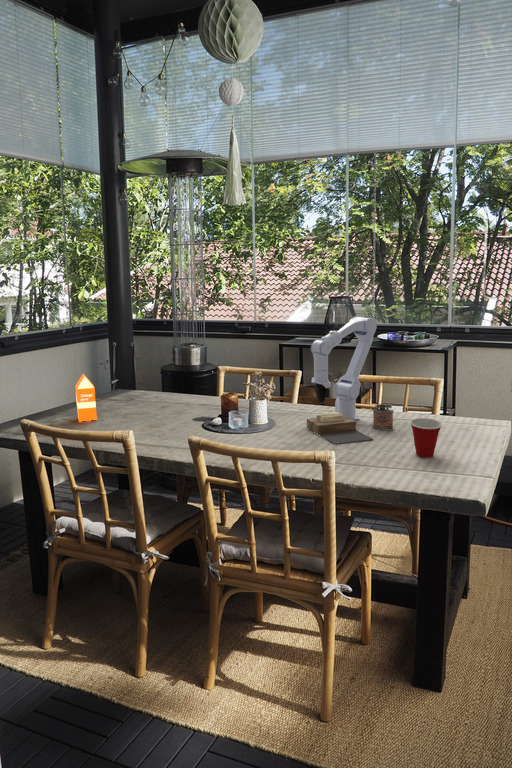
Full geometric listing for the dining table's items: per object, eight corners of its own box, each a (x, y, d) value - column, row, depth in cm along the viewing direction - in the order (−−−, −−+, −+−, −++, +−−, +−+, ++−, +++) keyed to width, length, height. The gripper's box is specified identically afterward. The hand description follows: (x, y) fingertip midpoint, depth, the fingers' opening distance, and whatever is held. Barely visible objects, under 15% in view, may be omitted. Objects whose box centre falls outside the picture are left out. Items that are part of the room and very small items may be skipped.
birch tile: (316, 419, 268) (316, 414, 268) (336, 416, 271) (336, 412, 271) (322, 422, 263) (322, 417, 262) (343, 420, 266) (343, 415, 265)
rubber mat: (319, 435, 259) (319, 434, 259) (356, 431, 264) (356, 430, 264) (334, 444, 246) (334, 443, 246) (373, 440, 251) (373, 438, 251)
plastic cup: (422, 461, 224) (423, 427, 221) (402, 453, 233) (403, 420, 231) (448, 457, 228) (449, 423, 225) (428, 449, 238) (429, 416, 235)
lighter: (372, 428, 267) (372, 404, 265) (373, 426, 270) (373, 402, 268) (392, 429, 265) (392, 405, 263) (393, 427, 268) (394, 403, 266)
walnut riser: (306, 428, 270) (306, 418, 269) (342, 424, 275) (342, 414, 274) (319, 435, 259) (318, 425, 258) (356, 431, 264) (356, 421, 263)
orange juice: (95, 416, 300) (92, 372, 296) (97, 420, 291) (94, 375, 287) (77, 417, 297) (74, 373, 293) (78, 422, 289) (75, 376, 285)
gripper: (304, 367, 277) (305, 399, 279) (319, 373, 263) (319, 406, 266) (320, 366, 279) (320, 398, 281) (335, 371, 265) (335, 405, 268)
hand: (321, 402), depth 274 cm, fingers closed
